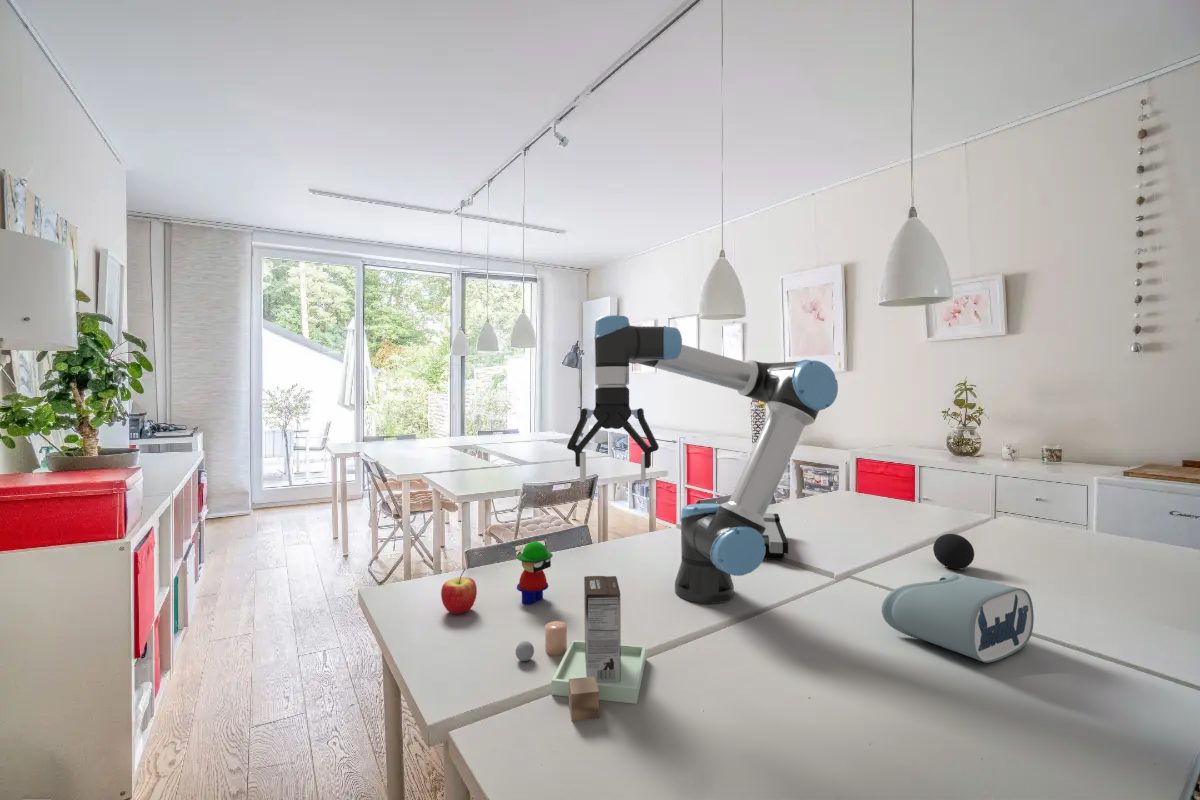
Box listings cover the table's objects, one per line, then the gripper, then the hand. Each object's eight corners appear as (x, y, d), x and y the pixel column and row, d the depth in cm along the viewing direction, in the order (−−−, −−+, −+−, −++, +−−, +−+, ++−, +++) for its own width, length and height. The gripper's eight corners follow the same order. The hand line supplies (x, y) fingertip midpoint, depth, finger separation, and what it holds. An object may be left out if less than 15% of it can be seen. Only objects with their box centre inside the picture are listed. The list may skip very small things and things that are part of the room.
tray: (645, 659, 105) (645, 646, 105) (636, 703, 90) (636, 688, 90) (572, 652, 107) (572, 639, 107) (551, 694, 93) (551, 680, 93)
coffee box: (584, 657, 103) (583, 575, 103) (617, 656, 103) (617, 574, 103) (585, 683, 94) (584, 593, 93) (621, 682, 94) (621, 592, 94)
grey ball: (536, 656, 106) (536, 638, 106) (530, 665, 102) (530, 647, 102) (519, 654, 107) (519, 637, 107) (513, 663, 103) (512, 645, 103)
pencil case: (975, 673, 98) (972, 604, 99) (880, 636, 115) (877, 577, 115) (1035, 646, 108) (1032, 583, 109) (939, 615, 125) (937, 561, 126)
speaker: (973, 566, 157) (973, 532, 157) (975, 576, 148) (975, 541, 148) (933, 560, 162) (933, 528, 162) (933, 570, 154) (933, 535, 153)
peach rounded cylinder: (569, 645, 110) (568, 622, 110) (563, 656, 106) (563, 631, 106) (548, 644, 111) (548, 620, 111) (542, 654, 107) (542, 630, 107)
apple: (484, 610, 128) (483, 569, 128) (453, 622, 122) (452, 579, 121) (465, 601, 133) (464, 562, 133) (434, 612, 127) (433, 571, 127)
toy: (543, 591, 140) (542, 535, 139) (559, 602, 132) (558, 542, 132) (511, 599, 135) (510, 540, 134) (526, 611, 128) (525, 549, 127)
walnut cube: (594, 702, 91) (594, 676, 90) (599, 718, 86) (598, 691, 86) (568, 705, 90) (568, 678, 90) (571, 721, 85) (571, 694, 85)
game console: (717, 561, 164) (717, 534, 164) (718, 533, 195) (718, 510, 195) (788, 565, 159) (788, 538, 159) (777, 536, 190) (777, 513, 190)
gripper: (669, 386, 118) (670, 480, 119) (561, 386, 123) (562, 477, 124) (667, 386, 111) (668, 486, 112) (553, 387, 116) (554, 483, 116)
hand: (612, 482), depth 118 cm, fingers open, 13 cm apart
